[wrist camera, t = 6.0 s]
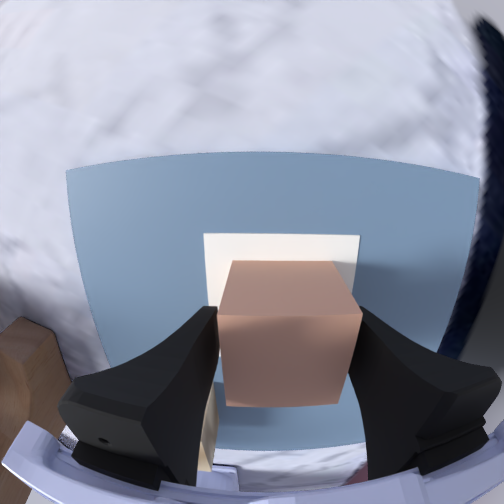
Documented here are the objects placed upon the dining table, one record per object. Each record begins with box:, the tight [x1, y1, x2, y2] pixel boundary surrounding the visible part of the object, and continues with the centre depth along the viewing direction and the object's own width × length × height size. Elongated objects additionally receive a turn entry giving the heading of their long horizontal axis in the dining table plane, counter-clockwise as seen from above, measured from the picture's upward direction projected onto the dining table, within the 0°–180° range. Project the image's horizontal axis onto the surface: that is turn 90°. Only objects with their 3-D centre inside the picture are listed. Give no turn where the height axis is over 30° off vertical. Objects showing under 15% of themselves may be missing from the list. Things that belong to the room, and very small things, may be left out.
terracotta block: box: [217, 260, 363, 407], centre depth 11 cm, size 4×4×4 cm
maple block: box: [197, 383, 219, 472], centre depth 14 cm, size 4×4×4 cm
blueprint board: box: [66, 152, 480, 451], centre depth 15 cm, size 22×22×1 cm
